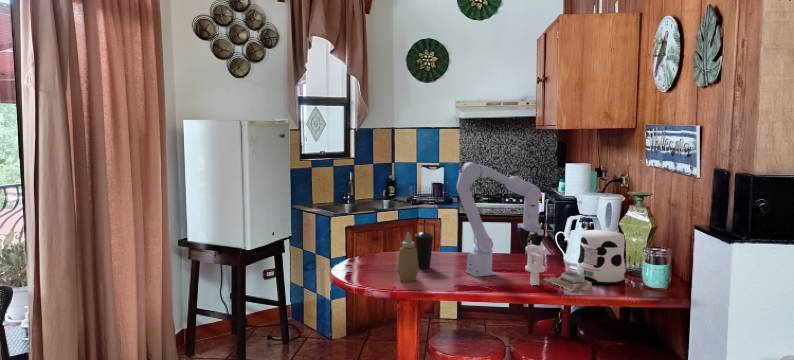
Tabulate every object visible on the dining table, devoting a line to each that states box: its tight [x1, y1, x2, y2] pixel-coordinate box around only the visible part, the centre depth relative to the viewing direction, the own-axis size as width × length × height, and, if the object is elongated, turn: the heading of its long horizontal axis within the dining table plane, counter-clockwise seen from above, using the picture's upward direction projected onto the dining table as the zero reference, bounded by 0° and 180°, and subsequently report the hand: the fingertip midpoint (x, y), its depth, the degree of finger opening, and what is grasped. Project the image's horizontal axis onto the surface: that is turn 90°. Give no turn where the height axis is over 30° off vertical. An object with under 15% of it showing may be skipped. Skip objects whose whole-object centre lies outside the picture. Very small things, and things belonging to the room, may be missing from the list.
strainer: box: [524, 243, 547, 286], centre depth 205 cm, size 7×7×15 cm
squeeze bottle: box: [397, 232, 420, 282], centre depth 209 cm, size 8×8×18 cm
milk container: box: [576, 229, 626, 285], centre depth 210 cm, size 17×17×18 cm
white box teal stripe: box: [559, 271, 584, 284], centre depth 202 cm, size 5×7×4 cm
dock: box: [542, 276, 593, 292], centre depth 206 cm, size 9×17×3 cm, turn 22°
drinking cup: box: [414, 218, 435, 270], centre depth 227 cm, size 8×8×20 cm
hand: (529, 249), depth 219 cm, fingers open, 7 cm apart
